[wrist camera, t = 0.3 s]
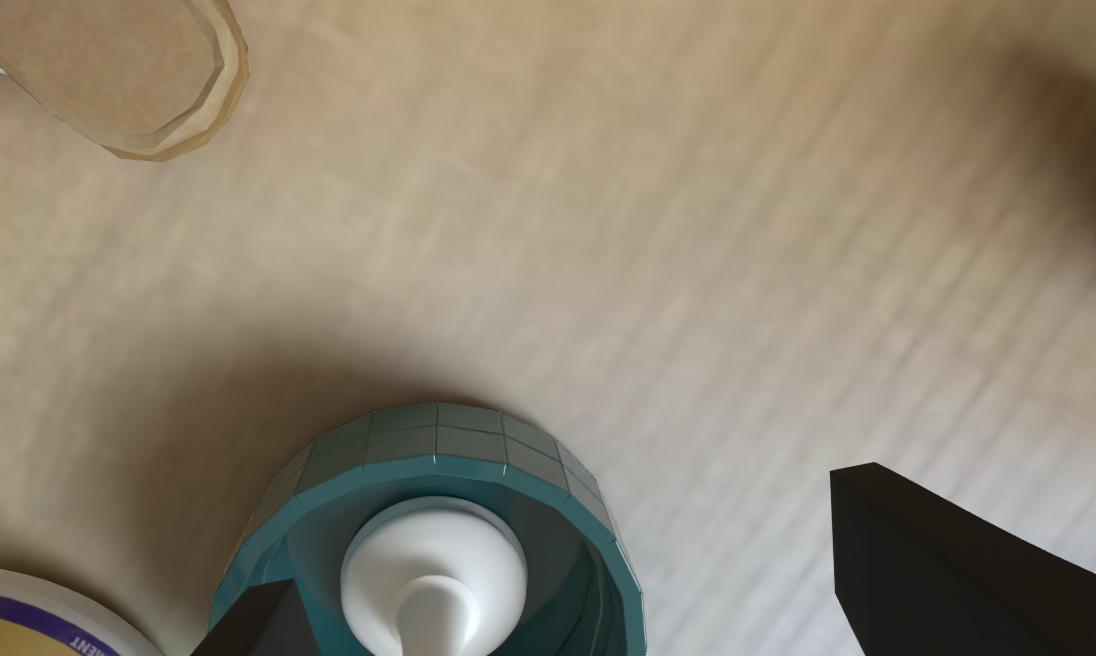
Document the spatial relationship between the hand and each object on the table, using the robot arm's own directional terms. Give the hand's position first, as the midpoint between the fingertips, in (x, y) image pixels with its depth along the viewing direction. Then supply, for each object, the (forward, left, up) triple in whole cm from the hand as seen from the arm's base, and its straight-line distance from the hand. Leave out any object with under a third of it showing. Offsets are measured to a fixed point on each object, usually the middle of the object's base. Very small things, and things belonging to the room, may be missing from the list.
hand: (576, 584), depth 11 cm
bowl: (-6, -3, -10) cm, 12 cm away
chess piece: (-6, -3, -10) cm, 12 cm away
